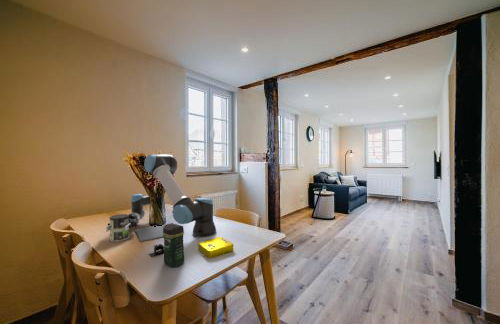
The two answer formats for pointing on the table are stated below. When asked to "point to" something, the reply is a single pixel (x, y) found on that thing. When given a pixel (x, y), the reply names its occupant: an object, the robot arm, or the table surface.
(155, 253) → the dark grey angular piece
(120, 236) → the coffee can
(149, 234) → the rubber mat
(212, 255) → the element tile
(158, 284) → the table surface
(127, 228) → the robot arm
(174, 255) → the coffee jar
